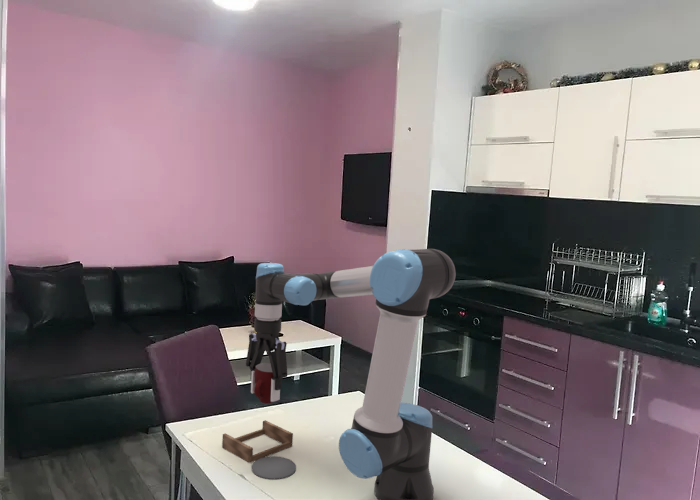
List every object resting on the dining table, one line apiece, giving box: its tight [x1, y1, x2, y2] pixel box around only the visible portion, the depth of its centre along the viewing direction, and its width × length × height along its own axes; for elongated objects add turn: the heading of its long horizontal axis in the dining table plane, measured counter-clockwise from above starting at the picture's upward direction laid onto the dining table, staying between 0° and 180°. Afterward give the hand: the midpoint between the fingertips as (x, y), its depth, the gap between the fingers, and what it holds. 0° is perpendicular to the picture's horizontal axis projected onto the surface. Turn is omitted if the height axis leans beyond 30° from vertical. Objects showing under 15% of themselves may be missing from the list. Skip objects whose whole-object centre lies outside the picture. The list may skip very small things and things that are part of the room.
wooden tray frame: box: [221, 420, 294, 464], centre depth 168 cm, size 13×16×4 cm
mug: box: [253, 362, 278, 404], centre depth 163 cm, size 11×8×10 cm
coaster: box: [251, 455, 297, 481], centre depth 156 cm, size 12×12×1 cm
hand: (265, 396), depth 163 cm, fingers closed on mug, 8 cm apart
